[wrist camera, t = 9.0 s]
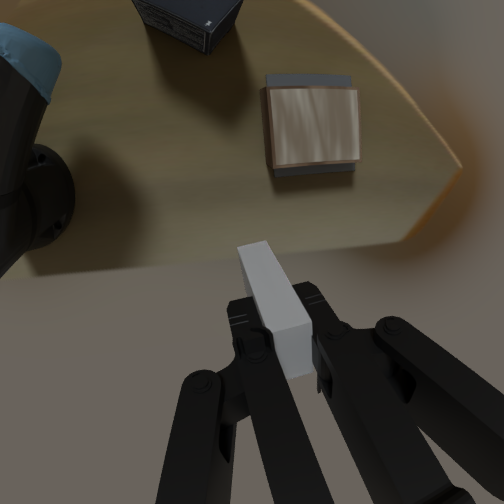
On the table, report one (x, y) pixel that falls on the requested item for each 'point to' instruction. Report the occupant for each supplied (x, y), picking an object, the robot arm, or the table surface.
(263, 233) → the table surface
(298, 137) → the brown rectangular box
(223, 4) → the small box
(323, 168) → the mat
